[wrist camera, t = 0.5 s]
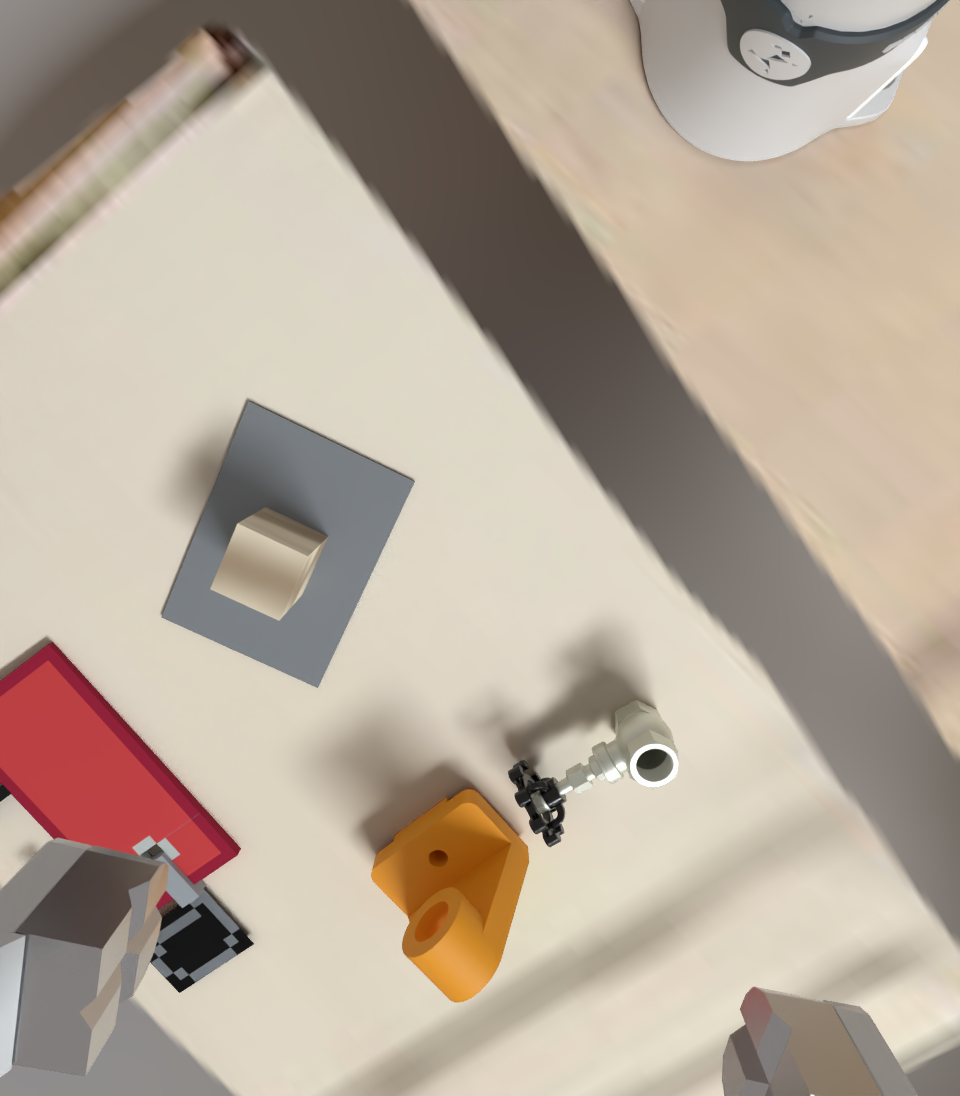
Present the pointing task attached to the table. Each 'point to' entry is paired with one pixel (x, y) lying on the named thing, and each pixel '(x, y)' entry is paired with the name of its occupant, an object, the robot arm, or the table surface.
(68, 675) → the red board with handle
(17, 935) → the robot arm
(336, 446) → the grey mat
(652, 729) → the valve
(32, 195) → the table surface
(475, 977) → the bracket
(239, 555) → the maple block
